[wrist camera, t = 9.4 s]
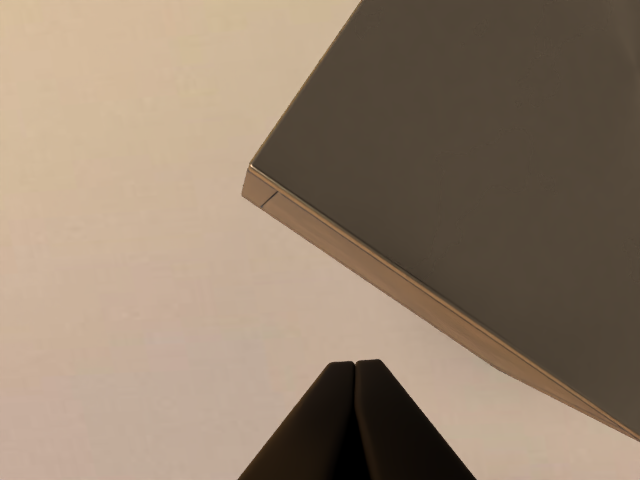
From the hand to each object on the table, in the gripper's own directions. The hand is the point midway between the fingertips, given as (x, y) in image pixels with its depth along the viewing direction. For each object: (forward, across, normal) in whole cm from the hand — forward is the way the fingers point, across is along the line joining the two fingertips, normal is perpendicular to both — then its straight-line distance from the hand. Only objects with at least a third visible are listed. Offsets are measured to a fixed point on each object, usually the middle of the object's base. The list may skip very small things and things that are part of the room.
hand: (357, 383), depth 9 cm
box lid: (+6, -6, -3) cm, 10 cm away
